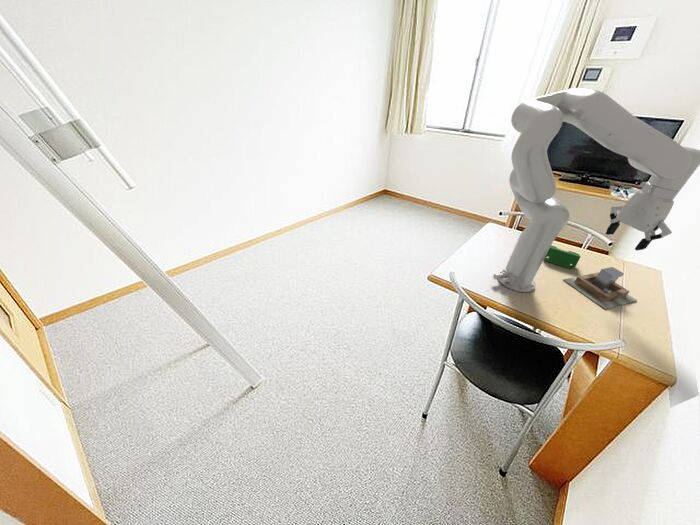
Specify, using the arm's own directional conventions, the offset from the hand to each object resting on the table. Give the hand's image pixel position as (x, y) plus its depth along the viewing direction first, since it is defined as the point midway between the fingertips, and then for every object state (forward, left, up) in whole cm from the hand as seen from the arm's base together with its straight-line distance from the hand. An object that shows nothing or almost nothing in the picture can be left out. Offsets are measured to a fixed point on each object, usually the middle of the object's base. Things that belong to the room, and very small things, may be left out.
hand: (623, 241), depth 98 cm
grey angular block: (+1, -2, -19) cm, 19 cm away
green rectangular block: (+2, +17, -20) cm, 26 cm away
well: (+1, -2, -20) cm, 20 cm away
